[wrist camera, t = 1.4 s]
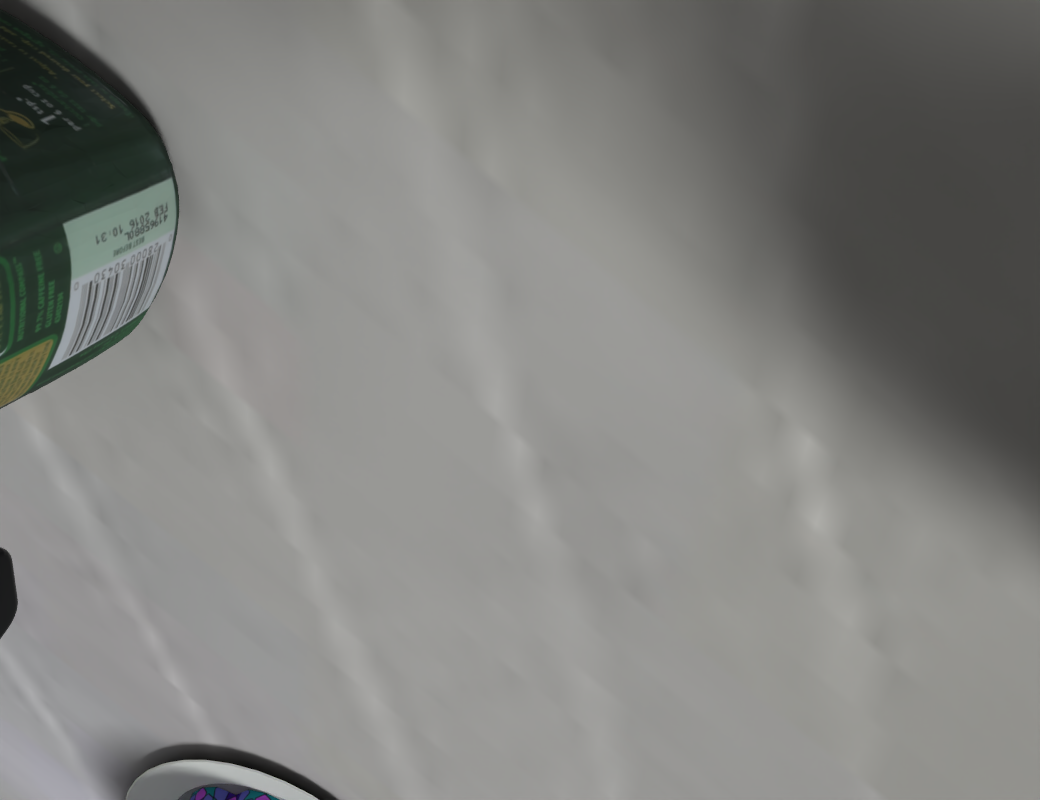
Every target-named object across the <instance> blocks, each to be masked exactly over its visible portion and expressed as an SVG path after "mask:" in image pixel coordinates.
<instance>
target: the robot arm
mask: <svg viewBox="0 0 1040 800" xmlns="http://www.w3.org/2000/svg"><path fill="white" fill-rule="evenodd" d="M17 605H18V599H17V592H16V585H15V578H14V570H13V563H12V558H11V555H10V554H9V553H8V551H7V550H5V549H3V548H1V547H0V639H1V637H2V636H3V634H4V633H5V632H6V630H7V629H8V627H9V626H10V624H11V623H12V621H13V619H14V617H15V614H16V611H17Z"/></svg>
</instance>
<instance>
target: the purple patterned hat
mask: <svg viewBox="0 0 1040 800" xmlns="http://www.w3.org/2000/svg"><path fill="white" fill-rule="evenodd" d="M209 784H234V785H240V786H247V787H251V788H254V789H258V790H261V791H265V792H268V793H270V794H273V795H275V796H278V797H280V798H283V799H285V800H319V799H317V798H316V797H314V796H312V795H311V794H309V793H307V792H305V791H303V790H301V789H299V788H297V787H295V786H293V785H291V784H289V783H287V782H285V781H283V780H280V779H278V778H275V777H273V776H270V775H268V774H265V773H263V772H260V771H257V770H253V769H250V768H246V767H242V766H239V765H235V764H231V763H224V762H217V761H210V760H180V761H174V762H168V763H163V764H161V765H158V766H156V767H154V768H151V769H149V770H147V771H146V772H144V773H143V774H142V775H141V776H139V777H138V778H137V779H136V780H135V781H134V783H133V784H132V786H131V787H130V789H129V790H128V792H127V796H126V800H178V799H179V798H180V796H182V795H183V794H184V793H186V792H187V791H189V790H191V789H193V788H196V787H199V786H203V785H209ZM190 800H279V799H277V798H275V797H273V796H271V795H269V794H267V793H263V792H258V791H253V790H247V791H244V792H242V793H239V794H237V795H235V794H232V793H230V792H228V791H225V790H223V789H221V788H218V787H203V788H201V789H199V790H197V791H196V792H194V793H193V794H192V796H191V799H190Z"/></svg>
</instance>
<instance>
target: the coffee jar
mask: <svg viewBox="0 0 1040 800" xmlns="http://www.w3.org/2000/svg"><path fill="white" fill-rule="evenodd" d="M178 218H179V195H178V187H177V182H176V179H175V175H174V171H173V167H172V164H171V162H170V159H169V157H168V154H167V151H166V148H165V146H164V144H163V142H162V140H161V138H160V137H159V135H158V134H157V132H156V131H155V129H154V128H153V127H152V126H151V124H150V123H149V122H148V121H147V120H146V118H145V117H144V116H143V115H142V114H141V113H140V112H139V111H138V110H137V109H136V108H135V107H134V106H133V105H132V104H131V103H130V102H129V101H128V100H126V99H125V98H124V97H123V96H122V95H121V94H120V93H119V92H117V91H116V90H115V89H114V88H113V87H111V86H110V85H109V84H108V83H106V82H105V81H104V80H102V79H101V78H100V77H99V76H98V75H97V74H96V73H95V72H94V71H92V70H90V69H88V68H87V67H85V66H84V65H83V64H82V63H81V62H80V61H79V60H77V59H76V58H75V57H74V56H72V55H70V54H69V53H67V52H66V51H65V50H63V49H62V48H61V47H60V46H58V45H57V44H55V43H54V42H52V41H50V40H49V39H47V38H46V37H44V36H43V35H41V34H40V33H38V32H37V31H35V30H34V29H32V28H31V27H29V26H27V25H26V24H24V23H23V22H21V21H20V20H18V19H17V18H15V17H14V16H12V15H10V14H8V13H7V12H5V11H3V10H1V9H0V409H1V408H3V407H5V406H7V405H8V404H10V403H12V402H14V401H16V400H18V399H20V398H21V397H23V396H25V395H27V394H29V393H32V392H34V391H36V390H38V389H39V388H41V387H43V386H45V385H47V384H49V383H51V382H52V381H54V380H56V379H58V378H59V377H61V376H63V375H65V374H67V373H68V372H70V371H72V370H74V369H76V368H78V367H79V366H81V365H83V364H84V363H86V362H88V361H89V360H91V359H93V358H95V357H96V356H98V355H99V354H101V353H102V352H104V351H106V350H107V349H109V348H110V347H112V346H113V345H115V344H116V343H118V342H119V341H121V340H122V339H123V338H125V337H126V336H127V335H129V334H130V333H131V332H132V331H133V330H134V328H135V327H136V326H137V325H138V324H139V323H140V321H141V320H142V319H143V317H144V315H145V314H146V312H147V310H148V309H149V307H150V305H151V304H152V302H153V300H154V299H155V297H156V295H157V293H158V291H159V289H160V286H161V284H162V282H163V280H164V278H165V275H166V273H167V270H168V267H169V263H170V260H171V257H172V254H173V249H174V245H175V240H176V235H177V227H178Z"/></svg>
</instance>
